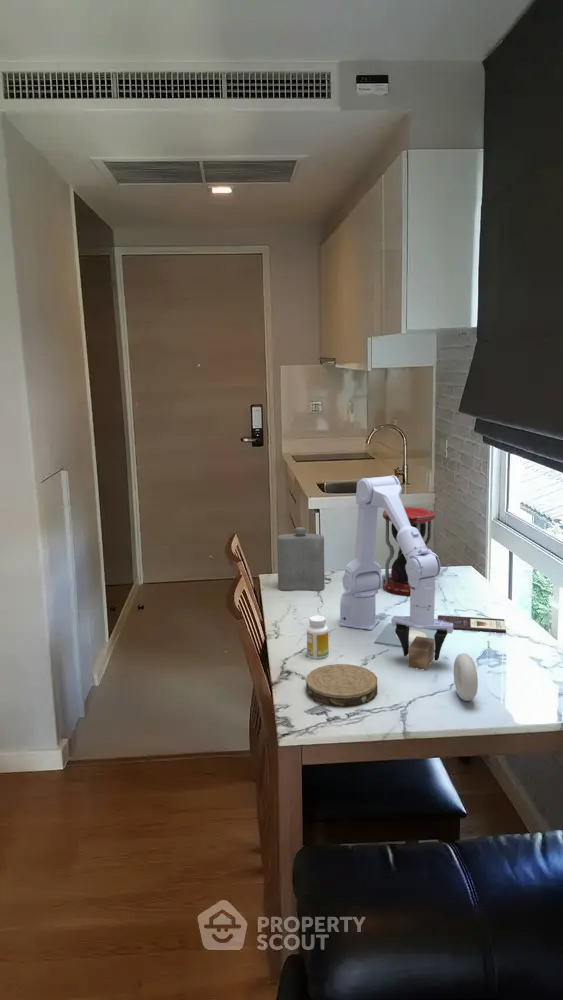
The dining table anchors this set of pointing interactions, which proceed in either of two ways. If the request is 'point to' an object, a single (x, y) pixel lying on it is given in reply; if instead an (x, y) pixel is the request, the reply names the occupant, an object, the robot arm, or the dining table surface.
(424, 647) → the walnut block
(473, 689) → the donut
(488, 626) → the chocolate bar
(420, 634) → the rubber mat
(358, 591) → the robot arm
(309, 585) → the flask
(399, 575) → the hourglass
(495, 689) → the dining table surface
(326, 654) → the supplement bottle
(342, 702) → the wooden log slice
